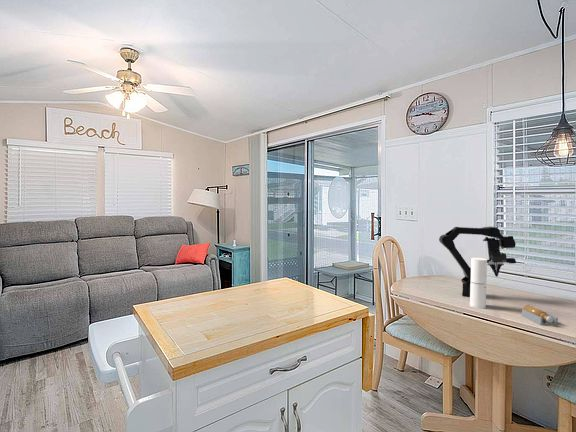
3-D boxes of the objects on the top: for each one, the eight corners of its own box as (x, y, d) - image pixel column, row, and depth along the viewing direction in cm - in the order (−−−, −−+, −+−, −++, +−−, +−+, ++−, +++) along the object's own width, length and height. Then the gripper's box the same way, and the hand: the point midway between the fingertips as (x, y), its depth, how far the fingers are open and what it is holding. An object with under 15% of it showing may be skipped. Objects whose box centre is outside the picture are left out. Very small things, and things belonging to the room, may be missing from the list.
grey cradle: (522, 316, 156) (522, 309, 155) (537, 315, 156) (538, 309, 156) (540, 324, 145) (540, 317, 144) (557, 324, 145) (557, 317, 145)
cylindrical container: (466, 304, 173) (468, 257, 172) (479, 303, 174) (480, 257, 173) (475, 308, 166) (477, 260, 165) (488, 308, 167) (490, 260, 166)
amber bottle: (521, 312, 157) (544, 322, 143) (524, 303, 156) (547, 313, 143) (530, 315, 157) (553, 325, 143) (533, 306, 157) (556, 316, 143)
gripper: (477, 249, 180) (480, 278, 179) (517, 248, 173) (520, 277, 172) (474, 249, 191) (477, 276, 189) (511, 248, 184) (514, 275, 182)
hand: (496, 276), depth 183 cm, fingers closed
